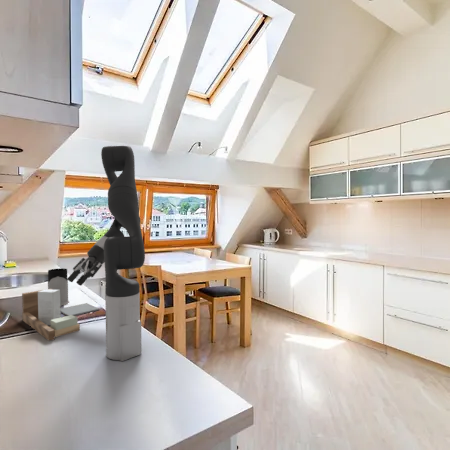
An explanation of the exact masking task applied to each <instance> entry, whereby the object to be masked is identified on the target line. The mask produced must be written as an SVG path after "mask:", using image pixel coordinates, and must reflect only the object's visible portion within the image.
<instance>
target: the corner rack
mask: <svg viewBox="0 0 450 450" xmlns="http://www.w3.org/2000/svg"><path fill="white" fill-rule="evenodd" d="M42 290H43V289H41V290H35V291H28V292H22V293H21V296H22V298H21V299H22V300H21V304H22V306H21V307H22V308H21V309H22V314H21V316H22V321H23V322H24V323H25V324H26V325H28V326H29V327H30V326H31V327H30V328H32V329H33V330H34V329H35V330H34V331H36V332H37V333H38V334H39V335H41V336H42V337H43V338H45V339H46V340H48V341H49V342H50V341H53V340H55V337H54V330H53V329H52V328H50V327H51V326H50V325H46V324H45V323H43V322H42V321H40V320H39V319H38V292H39V291H42ZM51 290H53V289H51Z"/></svg>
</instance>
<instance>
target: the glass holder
mask: <svg viewBox="0 0 450 450" xmlns="http://www.w3.org/2000/svg"><path fill="white" fill-rule="evenodd" d="M47 289H53V290H60V307H61V306H62V305H63V306H67V305H68V303H69V304H70V301H69V280H68V268H53V269H48V270H47Z"/></svg>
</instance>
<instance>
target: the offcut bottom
mask: <svg viewBox="0 0 450 450" xmlns="http://www.w3.org/2000/svg"><path fill="white" fill-rule="evenodd" d="M80 325H81V324H80V323H78V324H77V325H74V326H70V327H67V328H63V329H59V330H55V329H53V328H52V329H53V330H54V338H57V337H61V336H64V335H68V334H72V333H75V332H79V331H80V330H81V326H80ZM49 327H50V328H51V326H49Z"/></svg>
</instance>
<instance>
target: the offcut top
mask: <svg viewBox="0 0 450 450" xmlns="http://www.w3.org/2000/svg"><path fill="white" fill-rule="evenodd" d="M77 324H79V321H78V316H77V315H76V316H73V315H69V316H66V315H65V316H61V318H57V319H53V320H51V325H50V327H51V328H53V329H55V330H59V329H63V328H67V327H70V326H74V325H77Z"/></svg>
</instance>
